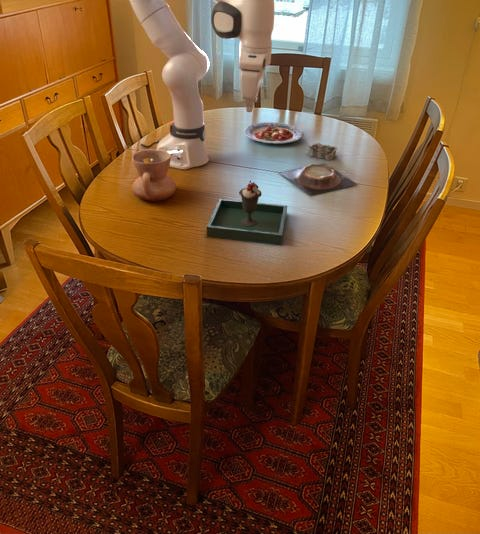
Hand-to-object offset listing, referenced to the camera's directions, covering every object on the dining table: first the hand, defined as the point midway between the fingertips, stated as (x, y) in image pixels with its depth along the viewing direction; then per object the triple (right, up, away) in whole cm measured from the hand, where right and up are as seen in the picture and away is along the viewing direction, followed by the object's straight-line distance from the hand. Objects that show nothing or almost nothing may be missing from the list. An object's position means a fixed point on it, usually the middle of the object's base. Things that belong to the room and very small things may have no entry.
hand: (251, 106), depth 135 cm
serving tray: (-1, -35, +5) cm, 35 cm away
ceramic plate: (+11, +10, +66) cm, 68 cm away
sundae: (-1, -34, +5) cm, 35 cm away
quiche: (+25, -15, +33) cm, 44 cm away
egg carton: (+30, -2, +51) cm, 59 cm away
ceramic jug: (-32, -24, +19) cm, 44 cm away
